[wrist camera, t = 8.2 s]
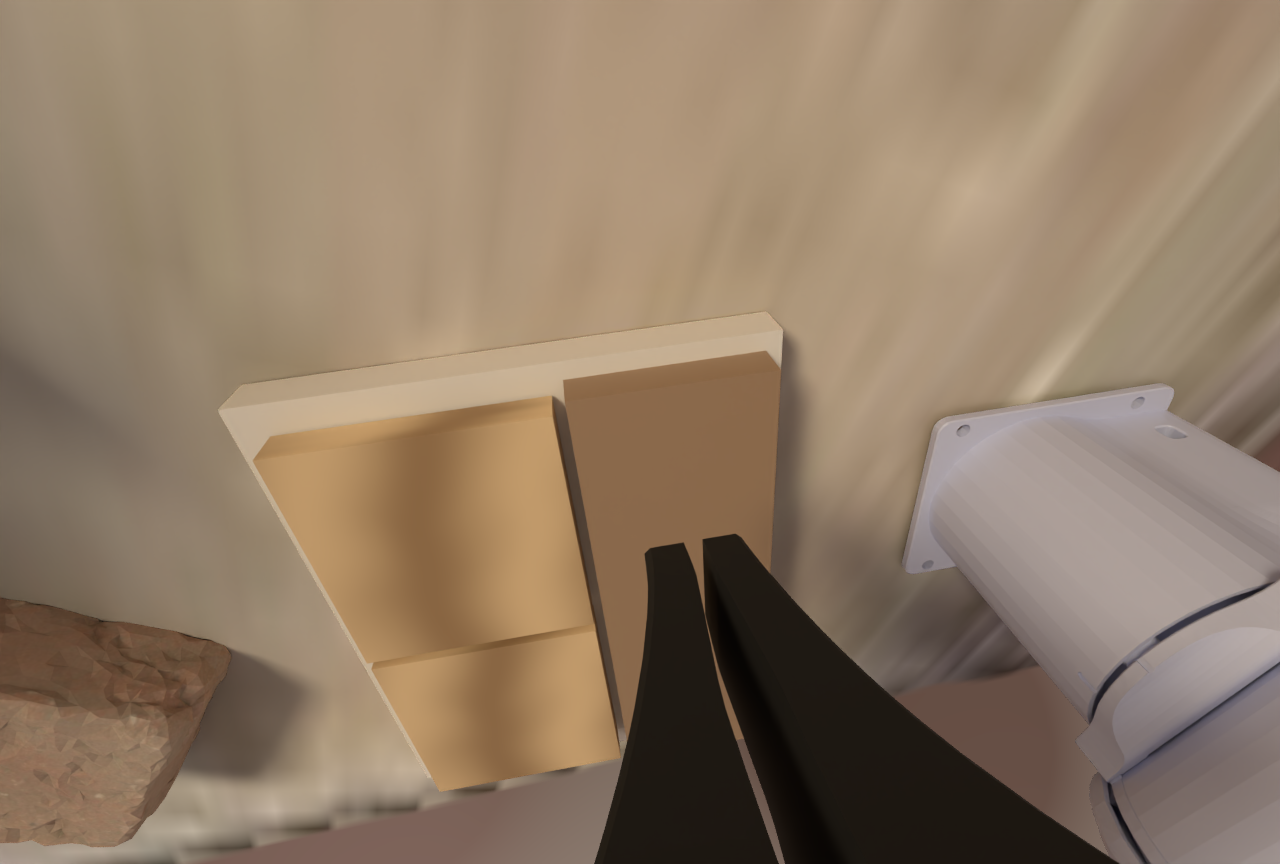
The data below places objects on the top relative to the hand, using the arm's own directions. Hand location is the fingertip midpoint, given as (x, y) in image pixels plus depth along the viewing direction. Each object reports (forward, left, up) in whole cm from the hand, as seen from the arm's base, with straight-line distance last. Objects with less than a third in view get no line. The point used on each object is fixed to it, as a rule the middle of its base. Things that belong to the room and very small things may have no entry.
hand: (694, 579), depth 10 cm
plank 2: (+6, +14, -8) cm, 17 cm away
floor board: (+4, +9, -9) cm, 13 cm away
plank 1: (+6, +4, -8) cm, 11 cm away
